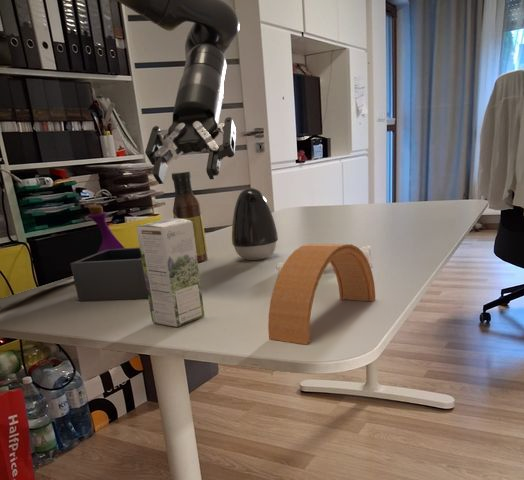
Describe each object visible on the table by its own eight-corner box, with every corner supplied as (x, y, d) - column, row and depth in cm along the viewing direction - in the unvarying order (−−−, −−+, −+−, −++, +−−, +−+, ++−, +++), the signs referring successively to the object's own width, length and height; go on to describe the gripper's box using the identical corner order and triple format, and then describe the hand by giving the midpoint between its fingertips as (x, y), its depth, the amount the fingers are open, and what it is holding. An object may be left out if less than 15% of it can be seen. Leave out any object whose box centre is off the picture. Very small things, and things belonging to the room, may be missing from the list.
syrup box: (180, 312, 82) (165, 218, 77) (206, 316, 78) (192, 218, 73) (151, 323, 78) (133, 224, 73) (178, 328, 74) (161, 225, 69)
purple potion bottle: (101, 278, 113) (83, 192, 107) (97, 272, 120) (79, 191, 114) (136, 272, 116) (120, 188, 110) (129, 266, 123) (114, 187, 116)
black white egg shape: (238, 265, 112) (229, 191, 106) (231, 257, 121) (223, 189, 116) (284, 258, 113) (278, 186, 108) (273, 251, 123) (267, 184, 118)
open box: (78, 301, 96) (69, 263, 93) (113, 283, 107) (106, 249, 105) (148, 298, 92) (141, 259, 90) (176, 280, 104) (170, 245, 101)
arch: (376, 299, 78) (375, 232, 74) (306, 344, 63) (300, 263, 59) (341, 296, 81) (338, 231, 78) (267, 338, 66) (259, 261, 63)
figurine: (375, 258, 104) (289, 271, 110) (372, 232, 102) (284, 247, 108) (368, 281, 88) (268, 296, 94) (363, 251, 87) (262, 268, 93)
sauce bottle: (191, 258, 125) (178, 171, 118) (213, 258, 123) (201, 169, 115) (175, 264, 120) (161, 173, 113) (198, 264, 117) (185, 171, 110)
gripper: (150, 87, 85) (131, 165, 79) (233, 75, 82) (220, 156, 75) (168, 123, 92) (152, 197, 86) (246, 114, 88) (235, 190, 82)
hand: (184, 178), depth 80 cm, fingers open, 8 cm apart
